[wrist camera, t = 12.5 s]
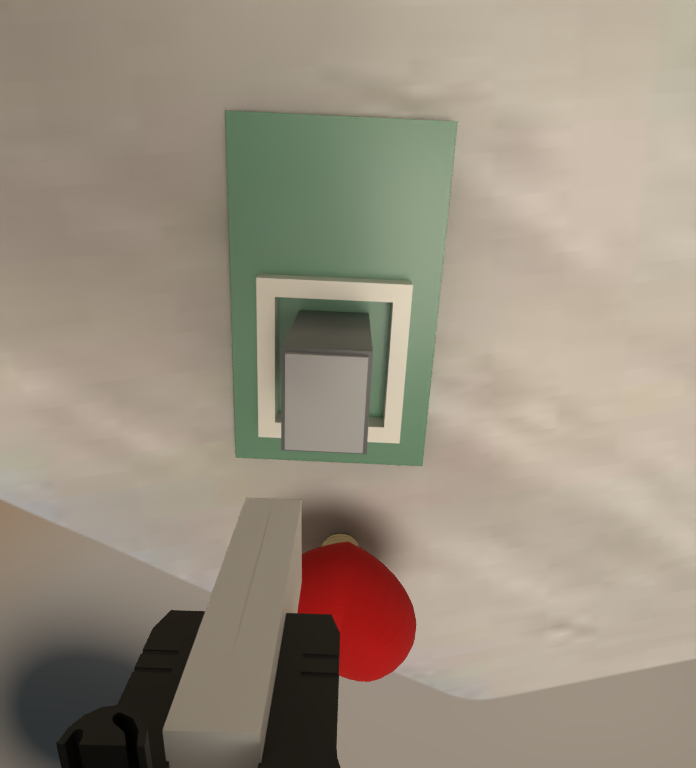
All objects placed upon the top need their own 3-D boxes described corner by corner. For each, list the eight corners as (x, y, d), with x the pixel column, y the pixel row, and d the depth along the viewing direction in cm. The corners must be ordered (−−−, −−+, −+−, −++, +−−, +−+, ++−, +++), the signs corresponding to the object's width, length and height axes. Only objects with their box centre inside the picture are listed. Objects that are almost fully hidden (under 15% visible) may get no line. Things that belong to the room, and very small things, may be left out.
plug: (299, 310, 31) (280, 349, 23) (368, 313, 31) (373, 353, 23) (298, 406, 33) (280, 472, 25) (363, 409, 33) (365, 476, 25)
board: (230, 113, 28) (218, 105, 26) (453, 124, 28) (463, 117, 26) (239, 449, 35) (230, 468, 33) (420, 457, 35) (425, 477, 33)
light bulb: (416, 513, 37) (437, 623, 27) (393, 593, 39) (404, 720, 30) (284, 487, 36) (258, 591, 27) (268, 570, 38) (239, 692, 29)
